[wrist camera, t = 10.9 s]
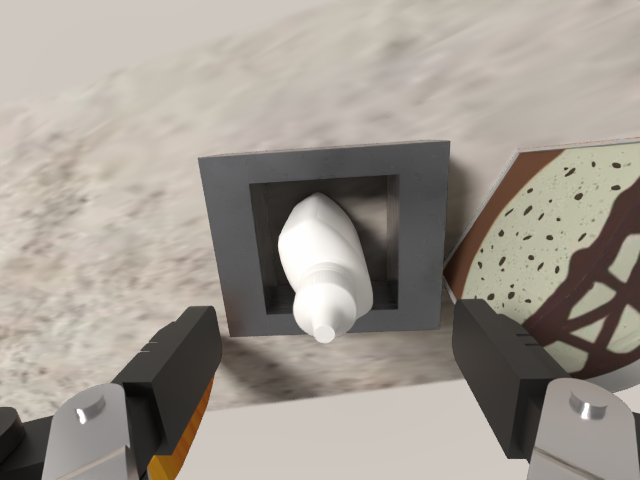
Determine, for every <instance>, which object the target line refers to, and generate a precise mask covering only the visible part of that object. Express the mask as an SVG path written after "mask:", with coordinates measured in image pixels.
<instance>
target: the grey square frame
mask: <svg viewBox="0 0 640 480" xmlns="http://www.w3.org/2000/svg"><path fill="white" fill-rule="evenodd" d="M449 155H450V141H444V140H420V141H405V142H391V143H376V144H362V145H347V146H333V147H318V148H303V149H289V150H274V151H260V152H245V153H231V154H220V155H213V156H207V157H201V158H198V162H199V168H200V173H201V179H202V184H203V190H204V195H205V201H206V206H207V212H208V218H209V223H210V229H211V234H212V240H213V245H214V251H215V256H216V262H217V267H218V273H219V278H220V284H221V289H222V295H223V300H224V306H225V311H226V317H227V323H228V328H229V334H230V337H246V336H273V335H300V334H307V333H306V332H304V330H302V328H300V327H299V325H298V323H297V322H296V320H295V317H294V314H293V312H294V311H293V305H294V300H295V295H296V292H295V291H294V289H293V288H292V286H291V285H277V280H276V272H275V264H274V256H273V247H272V239H271V231H270V222H269V214H268V206H267V197H266V189H265V183H268V182H283V181H299V180H315V179H331V178H347V177H362V176H378V175H387V281H370V282H371V286H372V291H373V305H372V308H371V309H370V310H369V311H368V312H367V313H366V314H365V315H363V316H361V317H360V318H358V319H356V321H355V323H354V324H353V326H352V327H351V329H349V331H347V332H346V333H355V332H382V331H409V330H437V329H439V328H440V311H441V294H442V276H443V259H444V242H445V224H446V207H447V190H448V173H449Z"/></svg>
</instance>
